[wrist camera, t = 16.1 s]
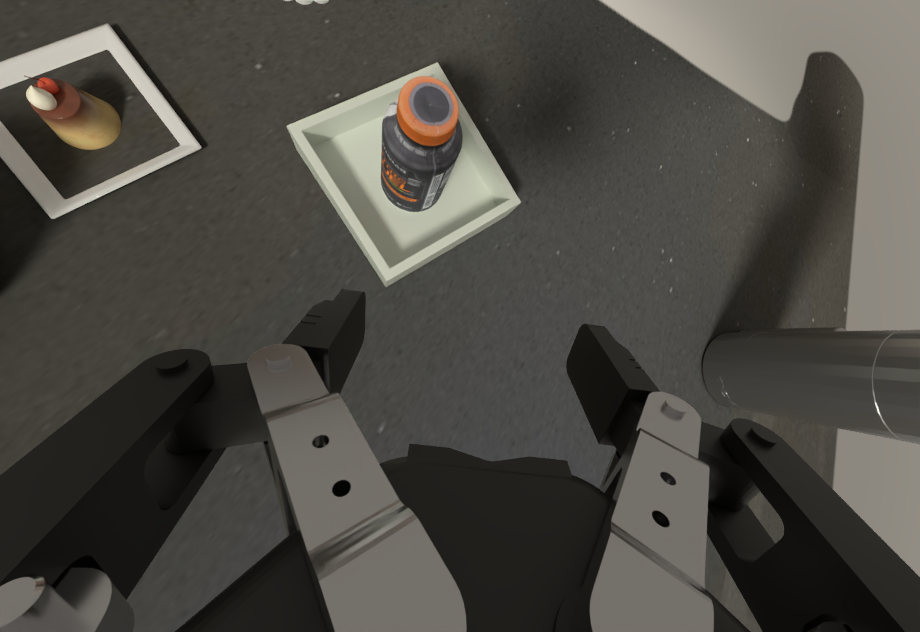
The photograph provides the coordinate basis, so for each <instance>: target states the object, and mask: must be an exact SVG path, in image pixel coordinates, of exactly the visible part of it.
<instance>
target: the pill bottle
mask: <svg viewBox="0 0 920 632" xmlns="http://www.w3.org/2000/svg"><path fill="white" fill-rule="evenodd" d="M458 117H459V106H458V102H457V99H456V97H455V95H454V93H453V92H452V91H451V89H450V88H449V87H448V86H447V85H446V84H445V83H443V82H442V81H440V80H438V79H435V78H433V77H429V76H419V77H415V78H413V79H411V80H409V81H408V82H407V83H406V84H405V85H404V86H403V87H402V89H401V91H400V94H399V97H397V98H396V99H395V100H394V101H393V102H392V103H391V104H390V105H389V106H388V108H387V110H386V112H385V115H384V118H383V122H382V153H381V185H382V189H383V191H384V193H385V195H386V197H387V198H388V200H389V201H391V203H392V204H394V205H395V206H396V207H398V208H400V209H402V210H405V211H408V212H421V211H425V210H427V209H429V208H431V207H432V206H433V205H435V203H436V202H437V201H438V200H439V198H440V196H441V194H442V191H443V189H444V187H445V185H446V182H447V180H448V178H449V176H450V174H451V171H452V169H453V167H454V165H455V162H456V160H457V158H458V155H459V153H460V151H461V147H462V141H463V135H462V128H461V124H460V121H459V119H458Z"/></svg>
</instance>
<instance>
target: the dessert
mask: <svg viewBox="0 0 920 632" xmlns="http://www.w3.org/2000/svg"><path fill="white" fill-rule="evenodd" d="M103 50H109V51H110V52H111V54H112V55H113V56H114V58H115V59H116V60H117V62H118V63H119V64H120V66H121V67H122V68H123V70H124V71H125V72H126V74H127V75H128V76H129V77H130V79H131V80H132V81H133V83H134V84H135V85H136V87H137V88H138V89H139V91H140V92H141V93H142V95H143V96H144V97H145V99H146V100H147V101H148V102H149V104H150V105H151V106H152V108H153V109H154V110H155V112H156V113H157V114H158V116H159V117H160V118H161V120H162V121H163V122H164V124H165V125H166V126H167V128H168V129H169V130H170V131H171V133H172V134H173V135H174V137H175V138H176V139H177V141H178V142H179V143H180V146H179V147H177V148H175V149H173V150H171V151H169V152H167V153H164V154H162V155H160V156H158V157H156V158H154V159H152V160H150V161H148V162H145V163H143V164H141V165H139V166H137V167H135V168H133V169H131V170H128V171H126V172H124V173H122V174H120V175H118V176H116V177H114V178H111V179H109V180H107V181H105V182H103V183H101V184H99V185H97V186H94V187H92V188H90V189H88V190H86V191H84V192H82V193H80V194H78V195H75V196H73V197H71V198H69V199H64V198H63V197H62V196H61V195H60V194H59V192H58V191H57V190H56V189H55V188H54V186H53V185H52V184H51V183H50V181H49V180H48V179H47V178H46V177H45V175H44V174H43V173H42V172H41V170H40V169H39V168H38V167H37V165H36V164H35V163H34V162H33V161H32V159H31V158H30V157H29V156H28V154H27V153H26V152H25V151H24V150H23V148H22V147H21V146H20V145H19V143H18V142H17V141H16V140H15V138H14V137H13V136H12V135H11V134H10V132H9V131H8V130H7V129H6V127H5V126H4V125H3V124H2V123H1V121H0V157H1V158H2V159H3V161H4V162H5V163H6V164H7V166H8V167H9V168H10V169H11V170H12V172H13V173H14V174H15V175H16V177H17V178H18V179H19V180H20V181H21V183H22V184H23V185H24V186H25V188H26V189H27V190H28V191H29V192H30V194H31V195H32V196H33V197H34V198H35V200H36V201H37V202H38V203H39V205H40V206H41V207H42V208H43V209H44V211H45V212H46V213H47V214H48V216H49V217H50V218H51V219H55V218H57V217H59V216H61V215H63V214H66V213H68V212H70V211H72V210H74V209H76V208H78V207H80V206H82V205H84V204H86V203H89V202H91V201H93V200H95V199H97V198H99V197H101V196H103V195H105V194H107V193H109V192H112V191H114V190H116V189H118V188H120V187H122V186H124V185H126V184H128V183H130V182H132V181H135V180H137V179H139V178H141V177H143V176H145V175H147V174H149V173H151V172H153V171H155V170H158V169H160V168H162V167H164V166H166V165H168V164H170V163H172V162H174V161H176V160H178V159H180V158H183V157H185V156H187V155H189V154H191V153H193V152H195V151H197V150H199V149H201V145H200V144H199V143H198V141H197V140H196V139H195V137H194V136H193V135H192V133H191V132H190V131H189V129H188V128H187V127H186V125H185V124H184V123H183V122H182V120H181V119H180V118H179V116H178V115H177V114H176V112H175V111H174V110H173V108H172V107H171V106H170V104H169V103H168V102H167V100H166V99H165V98H164V96H163V95H162V94H161V92H160V91H159V90H158V88H157V87H156V86H155V84H154V83H153V82H152V80H151V79H150V78H149V76H148V75H147V74H146V73H145V71H144V70H143V69H142V67H141V66H140V65H139V63H138V62H137V61H136V59H135V58H134V57H133V55H132V54H131V53H130V51H129V50H128V49H127V47H126V46H125V45H124V43H123V42H122V41H121V39H120V38H119V37H118V35H117V34H116V33H115V31H114V30H113V29H112V28H111V26H110V25H109V24H104V25H101V26H98V27H95V28H93V29H90V30H87V31H84V32H82V33H79V34H76V35H73V36H70V37H68V38H65V39H62V40H59V41H57V42H54V43H51V44H48V45H46V46H43V47H40V48H37V49H34V50H32V51H29V52H26V53H23V54H21V55H18V56H15V57H12V58H9V59H7V60H4V61H1V62H0V89H1V88H4V87H7V86H9V85H12V84H15V83H18V82H20V81H23V80H26V79H28V78H31V77H34V76H36V75H39V74H42V73H44V72H47V71H50V70H52V69H55V68H58V67H61V66H63V65H66V64H69V63H71V62H74V61H77V60H79V59H82V58H85V57H87V56H90V55H93V54H95V53H98V52H101V51H103ZM31 79H35V78H31ZM36 80H38V82H37V83H36V84H34V85H33V86H30V87H29V88H28V90H27V92H26V96H27V99H28V100H29V103H30V105H31V106H32V108H33V109H34V110H35V111H36V112H37V113H38V115H39V116H40V117H41V118H42V119H43V120H44V121H45V122H46V123H47V124H48V125H49V126H50V127H51V128H52V130H53V131H54V132H55V133H56V134H57V135H58V137H59V138H60V139H62V140H63V141H64V142H66V143H67V144H69V145H71V146H73V147H76V148H80V149H87V150H93V149H99V148H103V147H106V146H108V145H109V144H111V143H112V142H113V141H115V139H116V138H117V137H118V135H119V133H120V130H121V121H120V117H119V115H118V113H117V112H116V110H115V109H114V108H113V107H112V106H111V105H110V104H108V103H107V102H105V101H103V100H101V99H99V98H97V97H95V96H93V95H91V94H89V93H87V92H85V91H83V90H81V89H79V88H77V87H75V86H73V85H71V84H69V83H67V82H65V81H62V80H57V79H49V78H46V77H43V78H40V79H36Z"/></svg>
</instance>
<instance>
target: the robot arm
mask: <svg viewBox="0 0 920 632" xmlns="http://www.w3.org/2000/svg"><path fill="white" fill-rule="evenodd" d="M365 301H366V297H365V292H362V291H355V290H348V289H342V290H341V291H340V293H339V294H338V295H337V297H336V298H335V299H334V301H328V300H324V301H323V302H321V303H319V304H317V305H315V306H313V307H312V308H311V309H310V311H309V312H308V313H307V314H306V316H305V317H304V318H303V319H302V320H301V323H299V324H298V325H297V326H296V327H295V328H294V330H293V331H292V332H291V333H290V334H289V336H288V337H287V338H286V339H285V340H284V342H283V343H282V344H277V345H272V346H268V347H265V348H262V349H260V350H258V351H257V352H255V353H254V354H253V355H252V356H251V357H250V358H249V360H248V362H247V363H241V364H229V365H216V366H211V362H210V358H209V356H208V355H207V354H206V353H204V352H202V351H199V350H193V349H180V350H173V351H168V352H165V353H161V354H158V355H156V356H153V357H151V358H149V359H147V360H145V361H144V362H142V363H141V364H140V365H138V366H137V367H136V368H135V369H133V370H132V371H131V372H130V373H128V374H127V375H126V376H125V377H123V378H122V379H121V380H120V381H118V382H117V383H116V384H115V385H113V386H112V387H111V388H109V389H108V390H107V391H106V392H104V393H103V394H102V395H101V396H99V397H98V398H97V399H96V400H94V401H93V402H92V403H91V404H89V405H88V406H87V407H86V408H84V409H83V410H82V411H81V412H79V413H78V414H77V415H76V416H74V417H73V418H72V419H71V420H69V421H68V422H67V423H65V424H64V425H63V426H62V427H60V428H59V429H58V430H57V431H55V432H54V433H53V434H52V435H50V436H49V437H48V438H47V439H45V440H44V441H43V442H42V443H40V444H39V445H38V446H37V447H35V448H34V449H33V450H32V451H30V452H29V453H28V454H27V455H25V456H24V457H23V458H21V459H20V460H19V461H18V462H16V463H15V464H14V465H13V466H11V467H10V468H9V469H8V470H6V471H5V472H4V473H3V474H1V475H0V632H133V627H134V613H133V609H132V607H131V606H130V605H129V603H128V602H127V601H126V600H127V598H128V597H129V595H130V594H131V592H132V590H133V589H134V587H135V586H136V584H137V583H138V581H139V580H140V578H141V577H142V575H143V574H144V572H145V571H146V569H147V568H148V566H149V565H150V563H151V562H152V560H153V559H154V557H155V556H156V554H157V553H158V551H159V549H160V548H161V546H162V545H163V543H164V542H165V540H166V539H167V537H168V536H169V534H170V533H171V531H172V530H173V528H174V527H175V525H176V524H177V522H178V521H179V519H180V518H181V516H182V515H183V513H184V512H185V510H186V508H187V507H188V505H189V504H190V502H191V501H192V499H193V498H194V496H195V495H196V493H197V492H198V490H199V489H200V487H201V486H202V484H203V483H204V481H205V480H206V478H207V477H208V475H209V474H210V472H211V471H212V469H213V468H214V466H215V464H216V463H217V461H218V460H219V458H220V457H221V455H222V454H223V452H224V451H225V449H226V448H227V447H231V446H237V445H243V444H250V443H256V442H263V446H264V449H265V453H266V456H267V460H268V464H269V467H270V471H271V474H272V478H273V481H274V485H275V488H276V492H277V495H278V499H279V503H280V507H281V512H282V516H283V520H284V524H285V528H286V531H287V535H288V537H287V538H285V539H284V540H283V541H282V542H281V543H279V544H278V545H277V546H276V547H275V548H274V549H272V550H271V551H270V552H269V553H268V554H266V555H265V556H264V557H263V558H262V559H260V560H259V561H258V562H257V563H256V564H255V565H253V566H252V567H251V568H250V569H249V570H247V571H246V572H245V573H244V574H243V575H242V576H240V577H239V578H238V579H237V580H236V581H234V582H233V583H232V584H231V585H230V586H229V587H227V588H226V589H225V590H224V591H223V592H221V593H220V594H219V595H218V596H217V597H215V598H214V599H213V600H212V601H211V602H210V603H208V604H207V605H206V606H205V607H204V608H202V609H201V610H200V611H199V612H198V613H197V614H195V615H194V616H193V617H192V618H191V619H189V620H188V621H187V622H186V623H185V624H183V625H182V626H181V627H180V628H179V629H178V630H176V631H175V632H750V631H749V630H748V629H747V628H746V627H745V626H744V625H743V624H742V623H741V622H740V621H739V620H738V619H737V618H735V617H734V616H733V615H732V614H731V613H730V612H729V611H728V610H727V609H726V608H725V607H724V606H723V605H722V604H721V603H720V602H719V601H718V600H717V599H716V598H715V597H714V596H713V595H712V594H710V593H709V592H708V591H707V590H706V589H705V584H704V579H705V557H706V535H707V534H708V536H709V537H710V539H711V541H712V543H713V545H714V546H715V548H716V550H717V552H718V553H719V555H720V557H721V559H722V560H723V562H724V564H725V566H726V567H727V569H728V571H729V573H730V575H731V576H732V578H733V580H734V582H735V583H736V585H737V587H738V589H739V590H740V592H741V594H742V596H743V598H744V599H745V601H746V603H747V605H748V606H749V608H750V610H751V612H752V613H753V615H754V617H755V619H756V620H757V622H758V624H759V626H760V628H761V629H762V631H763V632H920V577H919V576H918V575H917V574H916V573H915V572H914V571H913V570H912V569H911V568H910V567H909V566H908V565H907V564H906V563H905V562H904V561H903V560H902V559H901V558H900V557H899V556H898V555H897V554H896V553H895V552H894V551H893V550H892V549H891V548H890V547H889V546H888V545H887V544H886V543H885V542H884V541H883V540H882V539H881V538H880V537H879V536H878V535H877V534H876V533H875V532H874V531H873V530H872V529H871V528H870V527H869V526H868V525H867V524H866V523H865V522H864V521H863V520H862V519H861V518H860V517H859V516H858V515H857V514H856V513H855V512H854V511H853V510H852V509H851V507H849V505H847V503H846V502H845V501H844V500H843V499H841V497H839V495H838V494H837V493H836V492H835V491H834V490H833V489H832V488H831V487H830V486H829V485H828V484H827V483H826V482H825V481H824V480H823V479H822V478H821V477H820V476H819V475H818V474H817V473H816V472H815V471H814V470H813V469H812V468H811V467H810V466H809V465H808V464H807V463H806V462H805V461H804V460H803V459H802V458H801V457H800V456H799V455H798V454H797V453H796V452H795V451H794V450H793V449H792V448H791V447H790V446H789V445H788V444H787V443H786V442H785V441H784V440H783V439H782V438H781V437H779V436H778V435H777V434H775V433H774V432H772V431H771V430H769V429H768V428H766V427H764V426H762V425H760V424H758V423H755V422H753V421H750V420H746V419H741V418H738V419H734V420H732V421H731V423H730V424H729V425H728V426H727V428H726V429H722V428H719V427H716V426H713V425H710V424H707V423H704V422H701V419H700V416H699V415H698V413H697V412H696V411H695V410H694V409H693V408H692V407H691V406H690V405H689V404H687V403H686V402H685V401H683V400H681V399H680V398H678V397H676V396H673V395H671V394H668V393H664V392H660V391H659V390H658V388H657V387H656V386H655V384H654V383H653V382H652V380H651V379H650V378H649V377H648V375H647V374H646V373H645V371H644V370H643V369H641V366H640V365H639V364H638V362H636V361H635V358H634V357H633V356H632V355H631V353H630V352H629V351H628V350H627V349H626V348H625V347H623V346H622V345H621V344H619V343H618V342H617V341H615V339H614V338H613V337H612V335H611V334H610V333H609V331H608V330H607V329H606V328H605V327H603V326H596V325H589V324H583V325H582V326H581V327H580V329H579V331H578V333H577V336H576V338H575V341H574V343H573V346H572V348H571V351H570V353H569V356H568V359H567V366H566V367H567V373H568V376H569V378H570V380H571V383H572V385H573V387H574V389H575V392H576V394H577V396H578V398H579V400H580V403H581V405H582V407H583V409H584V412H585V414H586V416H587V418H588V421H589V423H590V425H591V427H592V430H593V432H594V434H595V436H596V439H597V441H598V443H599V444H603V445H612V446H615V447H616V451H615V453H614V454H613V456H612V458H611V460H610V463H609V465H608V468H607V470H606V473H605V475H604V478H603V480H602V483H601V485H600V488H599V489H598V488H597V487H595V486H594V485H592V484H590V483H588V482H587V481H585V480H583V479H580V478H578V477H576V476H573V475H571V472H570V469H569V466H568V463H567V461H565V460H555V459H546V458H537V457H523V458H516V459H509V460H502V461H494V462H491V461H486V460H483V459H480V458H477V457H474V456H471V455H468V454H466V453H463V452H460V451H457V450H454V449H451V448H445V447H435V446H426V445H417V444H410V445H409V451H408V457H401V458H396V459H392V460H389V461H386V462H384V463H381V464H379V463H378V461H377V459H376V458H375V456H374V454H373V452H372V451H371V449H370V447H369V445H368V444H367V442H366V440H365V438H364V437H363V435H362V433H361V431H360V430H359V428H358V426H357V424H356V423H355V421H354V419H353V417H352V416H351V414H350V412H349V410H348V408H347V407H346V405H345V403H344V401H343V400H342V398H341V396H340V395H339V394H340V392H341V390H342V388H343V385H344V383H345V381H346V379H347V377H348V375H349V372H350V370H351V368H352V366H353V364H354V362H355V359H356V357H357V355H358V353H359V351H360V348H361V346H362V343H363V339H364V334H365ZM702 369H703V378H704V381H705V385H706V387H707V389H708V391H709V393H710V394H711V395H712V397H713V398H714V399H715V400H716V401H717V402H719V403H720V404H722V405H724V406H728V407H732V408H738V409H743V410H748V411H753V412H758V413H762V414H767V415H773V416H778V417H783V418H788V419H793V420H798V421H803V422H808V423H813V424H819V425H824V426H829V427H834V428H839V429H845V430H850V431H855V432H859V433H865V434H870V435H875V436H880V437H885V438H890V439H896V440H900V441H906V442H911V443H916V444H920V330H891V331H890V330H885V331H846V330H845V329H843V328H839V327H831V328H789V329H747V330H740V331H739V332H738V333H724V334H721V335H719V336H717V337H716V338H715V339H714V340H712V342H711V343H710V344H709V346H708V348H707V350H706V352H705V355H704V359H703V368H702ZM760 491H761V493H762V494H763V495H764V496H765V498H766V499H767V500H768V501H769V503H770V504H771V505H772V507H773V508H774V509H775V510H776V512H777V513H778V514H779V516H780V517H781V519H782V521H783V524H784V536H783V537H782V539H781V540H780V541H778V542H777V543H776V544H775V543H774V541H773V540H772V538H771V537H770V536H769V534H768V533H767V532H766V530H765V529H764V527H763V526H762V525H761V523H760V522H759V520H758V519H757V518H756V516H755V515H754V513H753V512H752V511H751V509H750V508H749V506H748V505H747V504H748V503H749V502H750V501H751V500H752V499H753V498H754V497H755V496H756V495H757V494H758V493H759V492H760Z"/></svg>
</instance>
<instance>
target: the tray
mask: <svg viewBox="0 0 920 632" xmlns="http://www.w3.org/2000/svg"><path fill="white" fill-rule="evenodd" d="M419 76H429V77H433V78H435V79H438V80H440V81H442V82H443V83H445V84H446V85H447V86H448V87H449V88H450V89H451V91H452V92H453V93H454V95H455V97H456V99H457V102H458V106H459V117H458V119H459V121H460V124H461V128H462V135H463V141H462V147H461V151H460V153H459V155H458V158H457V160H456V162H455V165H454V167H453V169H452V171H451V174H450V176H449V178H448V180H447V182H446V185H445V187H444V189H443V191H442V194H441V196H440V198H439V200H438V201H437V202H436V203H435V205H433V206H432V207H431V208H429V209H427V210H425V211H421V212H408V211H405V210H402V209H400V208H398V207H396V206H395V205H394V204H392V203H391V201H389V200H388V198H387V197H386V195H385V193H384V191H383V189H382V185H381V153H382V122H383V118H384V115H385V112H386V110H387V108H388V106H389V105H390V104H391V103H392V102H393V101H394V100H395V99H396V98H397V97H399V94H400V91H401V89H402V87H403V86H404V85H405V84H406V83H407V82H408V81H409V80H411V79H413V78H415V77H419ZM287 128H288V131H289V133H290V135H291V137H292V140H293V142H294V144H295V147H296V149H297V151H298V152H299V154H300V155H301V157H302V159H303V160H304V162H305V163H306V165H307V166H308V168H309V169H310V171H311V172H312V174H313V176H314V177H315V179H316V180H317V182H318V183H319V185H320V186H321V188H322V189H323V191H324V193H325V194H326V196H327V197H328V199H329V200H330V202H331V203H332V205H333V206H334V208H335V210H336V211H337V213H338V214H339V216H340V217H341V219H342V220H343V222H344V223H345V225H346V227H347V228H348V230H349V231H350V233H351V234H352V236H353V237H354V239H355V240H356V242H357V244H358V245H359V247H360V248H361V250H362V251H363V253H364V254H365V256H366V257H367V259H368V261H369V262H370V264H371V265H372V267H373V268H374V270H375V271H376V273H377V275H378V276H379V278H380V279H381V281H382V282H383V284H384V285H385V287H388V286H389V285H391V284H393V283H394V282H396V281H398V280H399V279H401V278H403V277H404V276H406V275H408V274H409V273H411V272H413V271H415V270H416V269H418V268H420V267H421V266H423V265H425V264H426V263H428V262H430V261H431V260H433V259H435V258H436V257H438V256H440V255H442V254H443V253H445V252H447V251H448V250H450V249H452V248H453V247H455V246H457V245H458V244H460V243H462V242H464V241H465V240H467V239H469V238H470V237H472V236H474V235H475V234H477V233H479V232H480V231H482V230H484V229H485V228H487V227H489V226H491V225H492V224H494V223H496V222H497V221H499V220H501V219H502V218H504V217H506V216H507V215H508V214H509V213H510V212H512V211H513V210H514V209H515V208H516V207H517V206H518V205H519V204H520V203H521V202H520V200H519V198H518V196H517V195H516V193H515V191H514V190H513V188H512V186H511V185H510V183H509V181H508V180H507V178H506V176H505V175H504V173H503V171H502V170H501V168H500V166H499V165H498V163H497V161H496V160H495V158H494V156H493V155H492V153H491V151H490V150H489V148H488V146H487V145H486V143H485V141H484V139H483V138H482V136H481V134H480V133H479V131H478V129H477V128H476V126H475V124H474V123H473V121H472V119H471V118H470V116H469V114H468V113H467V111H466V109H465V108H464V106H463V104H462V103H461V101H460V99H459V98H458V96H457V94H456V93H455V91H454V89H453V87H452V86H451V84H450V82H449V81H448V79H447V77H446V76H445V74H444V72H443V71H442V69H441V67H440V66H439V64H438V63H435V64H433V65H430V66H428V67H426V68H423V69H421V70H418V71H416V72H414V73H411V74H409V75H407V76H404V77H402V78H399V79H397V80H395V81H392V82H390V83H388V84H385V85H383V86H380V87H378V88H376V89H373V90H371V91H368V92H366V93H364V94H361V95H359V96H357V97H354V98H352V99H349V100H347V101H345V102H342V103H340V104H338V105H335V106H333V107H330V108H328V109H326V110H323V111H321V112H319V113H316V114H314V115H311V116H309V117H307V118H304V119H302V120H299V121H297V122H295V123H292V124H290V125H288V126H287Z"/></svg>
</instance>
